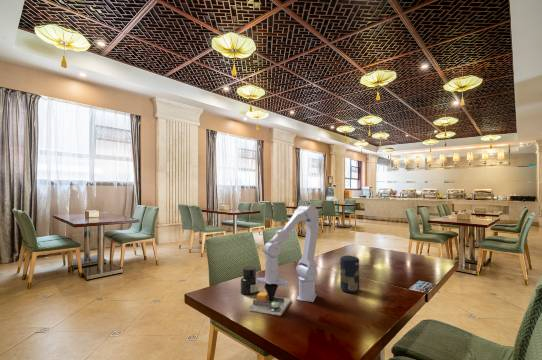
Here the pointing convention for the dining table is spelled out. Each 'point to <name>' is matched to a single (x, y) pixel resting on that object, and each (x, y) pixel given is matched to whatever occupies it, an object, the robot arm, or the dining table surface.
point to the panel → (267, 308)
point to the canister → (349, 273)
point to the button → (275, 304)
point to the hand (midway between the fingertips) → (271, 300)
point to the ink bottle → (249, 281)
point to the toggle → (262, 296)
